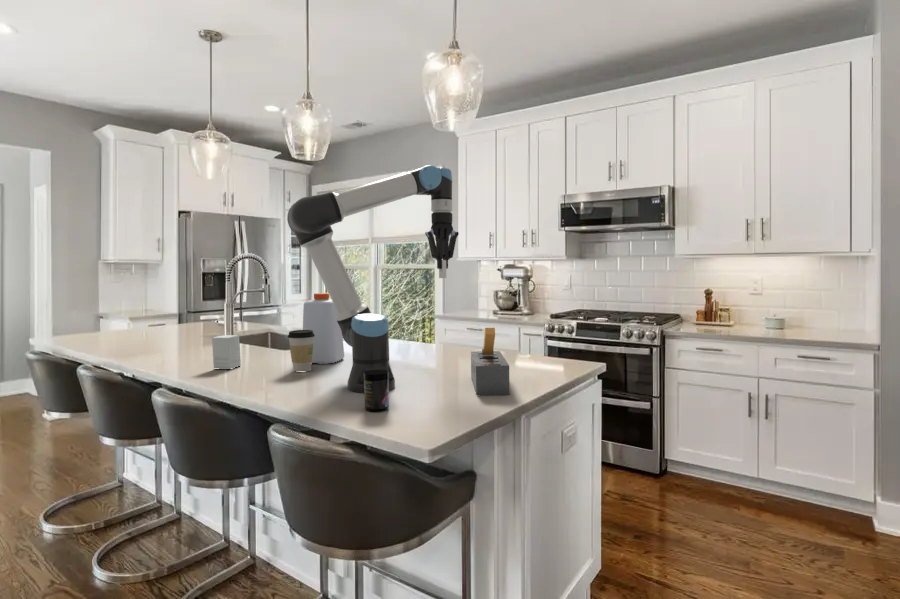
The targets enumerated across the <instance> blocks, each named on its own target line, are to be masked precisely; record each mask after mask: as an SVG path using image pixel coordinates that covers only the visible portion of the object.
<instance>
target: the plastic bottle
mask: <svg viewBox="0 0 900 599" xmlns="http://www.w3.org/2000/svg"><path fill="white" fill-rule="evenodd" d="M302 312H303V313H302V316H303V317H302V330H312V331H313V333H314V335H315V336H314V338H313V355H312V362H311V363H318V364H317V365H327V364H326V363H333V364H335V363H334V362H336V363H338V362H340V361H342V360H344V358H345V348H344V339H343V337H342V333H341V332H342V331H341V328H340V326H339V324H338V322H337V320H336V319H337V316H338V312H337V310H336V308H335V305H334V303H333V301H332V299H331V298H330V295H329V293H327V292H317V293H314V294H313V299H310V300H307V301H305V302H303V309H302ZM341 359H342V360H341ZM339 360H340V361H339ZM337 361H338V362H337ZM320 363H321V364H320Z"/></svg>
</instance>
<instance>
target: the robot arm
mask: <svg viewBox="0 0 900 599" xmlns="http://www.w3.org/2000/svg"><path fill="white" fill-rule="evenodd" d="M452 174H453V173H452V170H451V169H450V168H447V167H436V166H435V165H431V164H428V165H424V166H422V167H420V168H416V169H415V170H411V171H408V172H400V173H399V174H397V175H393V176H389V177H387V178H383V179H380V180H377V181H373V182H371V183H367V184H364V185H361V186H357V187H354V188H351V189H347V190H344V191H341V192H338V193H336V192H334V191H330V192H329V191H328V192H325V193H321V194H317V195H316V194H315V195H308V196H304V197H301V198H299V199H298V200H297V201H296V202H294V203H292V205H291V206H290V208H289V210H288V212H287V223H288V224H287V225H288V227H289V229H290V230H291V231H292V232H293V233H294V235H295V237H296V239H297V241H298V244H299V245H300V247H302V248H303V249H304V248H305V249H307V251H308V253H309V255H310V258H311V260H312V261H313V263H314V266H315V268H316V270H317V272H318V274H319V276H320V278H321V280H322V282H323V285H324V287H325V289H326V291H327V292H328V294H329V298H330V299H331V300H332V301H333V303H334V305H335V308H336V310H337V312H338V316H337V319H336V320H337V322H338V324H339V326H340V328H341V331H342V332H341V333H342V337H343V341H344V342H345V343H346V344H347V345H348V346H349V347H351V348H352V350H351V351H352V352H351V353H352V355H351V356H352V367H351V369H350V371H349V372H350V373H349V377H348V379H347V389H348V390H349V391H351V392H353V393H354V392H355V393H364V372H365V371H369V370H387V371H388V377H389V378H388V384H389V391H390V390H392V389H394V388H395V387H396V379H395V377H394V373H393V370H392V368H391V365H390V344H389V343H390V340H389V337H390V336H389V331H390V330H389V328H390V325H389V321H388V318H387V317H386V316H385V315H383V314H378V313H372V312H371V310H370V308H369V306H368V305H367V304H365V303H364V302H362V301H361V299H360V297H359V295H358V293H357V290H356V288H355V287H354V284H353V281H352V280H351V278H350V275H349V273H348V271H347V270H346V266H345V265H344V262H343V261H342V259H341V256H340V253H338V250H337V248H336V245H335V243H334V241H333V239H332V238H333V236H334V231H333V229H332V226H333V225H335V224H338V223H341V222H343V220H344V218H346V217H349V216H353V215H355V214H358V213H361V212H365V211H367V210H371V209H373V208H377V207H380V206H384V205H387V204H389V203H392V202H396V201H398V200H402V199H405V198H407V197H411V196H415V195H416V196H430V197H431V198H430V200H431V201H430V202H431V206H430V209H431V210H430V211H431V212H432V213H431V216H430V217H431V227H430V229H429V230H428V231H425V233H424V235H425V236H426V237H427V240H428V246H429V250H430V254H431V258H432V259H435V261H436V268H437V270H438V279H447V269H449V260H450V259H453V258H454V257H453V256H454V252H455V247H456V241H457V238H458V237H459V234H460V233H459V232H458V231H455V230H454V228H453V225H452V224H453V213H452V211H453V175H452Z"/></svg>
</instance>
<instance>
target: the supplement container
mask: <svg viewBox="0 0 900 599" xmlns="http://www.w3.org/2000/svg"><path fill="white" fill-rule="evenodd" d="M388 378H389V377H388V371H387V370H369V371H365V372H364V392H363V393H364V395H363V396H364V409H365V411H367V412H370V413H381V412H385V411H387V410H388V409H389V406H390V395H389V393H390V392H389V391H390V390H389V384H388Z"/></svg>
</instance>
